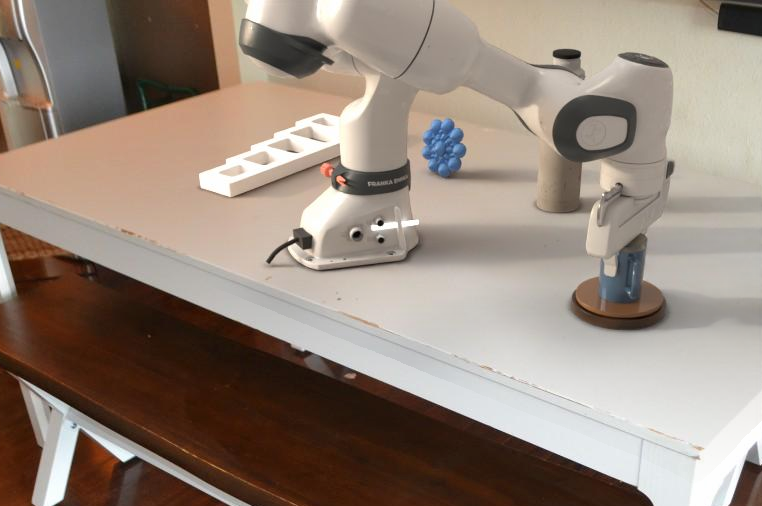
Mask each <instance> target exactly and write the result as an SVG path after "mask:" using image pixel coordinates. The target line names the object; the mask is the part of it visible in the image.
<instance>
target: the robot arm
mask: <svg viewBox="0 0 762 506" xmlns="http://www.w3.org/2000/svg"><path fill="white" fill-rule="evenodd" d="M243 2H244V3H245V4H246V6H247V7H246V12H245V17H243V18H241V21H240V27H239V33H238V45H239V48H240V50H241V51H242V53H243V54H244V55H246V56H247V57H248V59H249V60H250V61H251V62H252V63H253V65H255V66H256V67H257V68H258V69H260V70H261V71H262V72H264V73H265V74H269V75H270V76H273V77H277V78H282V79H297V80H302V79H304V78H307V77H309V76H310V77H311V76H312V75H315V74H316V73H317V72H318V71H319V70H322V71H325V72H328V73H332V74H340V75H347V76H354V77H361V78H362V77H363V78H364V79H365V91H364V95H363V96H361V97H359V98H357V99H355V100H353V101H352V102H350V103H348V104H347V105H346V106H345V107H344V109H343V110H342V112H341V113H340V116H339V117H340V119H339V136H340V153H341V155H340V160H339V162H338V164H337V165H336V166H335V167H334V166H333V165H331V164H330V163H329V162H323V164H322V165H321V166H320V173H321V174H322V175H324V176H325V177H326V178H327V179H328V178H329V179H330V182H331V185H330V186H329V187H328V188H327V189H326V190H325V191H324V192H323V193H321V194H320V195H319V196H318V197H317V198H315V200H314V201H312V202H311V203H310V204H309V205H308V206H307V207H305V208H304V209H303V211H302V214H301V218H300V224H299V227H298V228H293V229H292V235H291V236H289V238H288V240H287V241H286V242H284V243H282V244H280V245H279V246H278V247H277V248H275V249H274V250H273V251H272V252H271V253H270V254H269V256H268V257H267V259H266V260H265V262H266V263H267V264H268V265H270V264H271V263H272V262H273V260H274V259H275V258H276V257H277V255H278V254H279V253H281V252H282V251H284V250H285V249H286V248H287V250H288V252H289V254H290V255H291V256H292V258H293V259H294V260H296V261H297V262H298V263H300V264H301V265H302V266H304V267H307V268H309V269H313V270H317V271H324V270H332V269H333V270H334V269H341V268H348V267H349V268H350V267H358V266H364V265H372V264H373V265H375V264H382V263H388V262H389V263H391V262H399V261H402V260H404V259H406V257H407V255H408V253H409V251H411V250H412V249H414V248H415V247H417V245H418V243H419V241H420V238H419V235H418V232H417V229H416V225H417V226H418V225H419V220H418V219H415V220H414V217H413V210H412V206H411V196H410V191H411V187H412V171H411V161H410V159H409V158H408V135H409V134H408V132H409V131H408V130H409V117H410V112H411V108H412V105H413V102H414V101H415V98H416V96H417V94H418V92H420V91H422V92H425V93H429V94H432V95H437V96H443V95H446V94H449V93H452V92H454V91H455V90H457V89H458V88H459V87H464V88H467V89H470V90H472V91H475V92H477V93H479V94H481V95H483V96H485V97H488V98H489V99H492V100H493V101H495V102H498V103H500V104H502V105H504V106H506V107H508V108H509V109H510V110H512V112H513V113H514V115H515V116H516V118H517V119H518V120H519V122H520V123H521V125H522V126H523V127H524V128H525V129H526V130H527V131H528V132H530V133H531V134H533V135H534V136H536V137H537V138H539V140H540V139H542V140H543V141H544V142H545V143H546V144H547V145H549V146H550V147H551V148H552V149H553V150H554V151H556V152H557V153H558V154H559V155H561V156H562V157H564V158H566V159H568V160H570V161H573V162H579V163H582V164H583V163H589V162H594V161H598V160H601V161H600V162H601V164H600V174H599V186H600V188H602V189H603V190H604V192H603V193H602V194H601V197H600V199H599V198H598V200H597V201H596V202H595V203H594V204H593V206H592V208H591V211H590V215H589V220H588V226H587V233H586V234H587V235H586V240H585V241H586V242H585V251H586V252H587V255H588V256H591V257H594V258H597V259H601V258H602V259H603V261H604V264H605V266H604V274H605V275H607V276H611V277H614V276H615V275H616V274H617V273H619V268H620V263H619V262H618V259H617V256H618V255H619V251H620V250H621V249H622V248H623V247H625V246H626V245H627V244H628V243H630V242H631V241H632V240H633V239H634V238H636V237H637V236H638V235H639V234H641V233H642V234H644V235H645V236H646V237H647V233H648V228H649V227H650V226H652V225H653V224H654V223H656V221H658V220H659V219H660V218H662V216H663V214H664V213H665V209H666V206H667V203H668V202H667V201H668V197H669V191H670V184H671V176H673V174H674V173H675V170H676V160H675V159H674V158H669V157H667V156H668V148H667V144H666V143H667V142H666V141H667V140H666V139H667V135H668V131H669V129H670V127H671V123H672V115H673V105H674V75H673V71H672V68H671V67H670V66H669V65H668V64H667V63H666V62H665V61H663V60H662V59H660V58H657V57H656V56H652V55H649V54H646V53H640V52H633V51H628V52H627V51H626V52H622V53H618V54H617V55H616V56H615V57H614V59H613V60H612V62H610V63H609V64H608V65H607V66H605V67H604V68H602V69H601V70H600V71H598V72H597V73H595V74H593V75H591V76H590V77H587V78H585V80H582V79H581V78H580V77H579V76H578V75H577V74H576V73H575V72H573V71H572V70H570V69H569V68H567V67H564V66H560V65H553V64H535V63H529V62H526V61H525V60H522V59H521V58H518V57H516V56H515V55H513V54H511V53H509V52H507V51H505V50H503V49H501V48H499V47H497V46H496V45H493V44H491V43H490V42H488V41H486V40H485V39H484V38H483V37H482V36H481V35H480V32H479V29H478V26H477V25H476V23H475V22H474V21H473V20H472V19H470V17H468V15H466V14H465V13H463V11H461V10H460V9H459V8H457V7H456V6H455V5H453V4H452V3H450V2H449V1H447V0H243Z"/></svg>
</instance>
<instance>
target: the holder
mask: <svg viewBox="0 0 762 506" xmlns="http://www.w3.org/2000/svg"><path fill="white" fill-rule="evenodd" d="M339 119H340V116H337V115H332V114H329V113H324V112H321V113H318V114H315V115H313V116H309V117H306V118H304V119H301V120H300V119H299V120H297V121H295V126H292V127H289V128H286V129H284V130H280V131H277V132H274V133H273V138H270V139H268V140H264V141H262V142H259V143H255V144H253V145H250V150H248V151H246V152H243V153H240V154H237V155H235V156H231V157H228V158H226V159H225V164H222V165H219V166H217V167H214V168H212V169H208V170H205V171H203V172H200V173H199V174H198V176H199V184H200V188H201V189H203V190H207V191H210V192H214V193H217V194H219V195H222V196H226V197H229V198H233V197H236V196H238V195H241V194H243V193H246V192H249V191H251V190H254V189H257V188H259V187H262V186H265V185H267V184H269V183H273V182H275V181H279V180H280V179H283V178H286V177H289V176H290V175H294V174H296V173H299V172H301V171H304V170H306V169H308V168H309V169H310V168H312V167H314V166H317V165H319V164H322V163H325V162H327V161H330V160H332V159H335V158H338V157H341V153H340V136H339Z"/></svg>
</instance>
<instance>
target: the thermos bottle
mask: <svg viewBox="0 0 762 506" xmlns="http://www.w3.org/2000/svg"><path fill="white" fill-rule="evenodd" d="M552 57H553V59H552V65H560V66H564V67H567V68H569V69H570V70H572V71H573V72H575V73H576V74H577V75H578V76H579V77H580V78H581V79H582V80H585V79H586V77H587V76H586V70H584V69H583V68H582V67H581V65H582V64H581V63H582V60H581V57H582V52H581V51H580V50H578V49H574V48H558V49H554V50H553V51H552ZM538 152H539V153H538V157H539V158H538V170H537V187H536V189H537V190H536V207H538V208H539V209H540V210H542V211H545V212H549V213H555V214H556V213H557V214H558V213H561V214H563V213H569V212H573V211H575V210H577V209H578V208H579V207H580V198H581V187H582V172H583V171H582V170H583V163H579V162H573V161H570V160H568V159H566V158H564V157H562V156H561V155H559V154H558V153H557V152H556V151H554V150H553V149H552V148H551V147H550V146H549V145H547V144H546V143H545V142H544V141H543V140H542V139H540V138H539V150H538Z"/></svg>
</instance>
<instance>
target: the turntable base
mask: <svg viewBox="0 0 762 506" xmlns="http://www.w3.org/2000/svg"><path fill="white" fill-rule="evenodd" d="M570 304H571V310H572V312H573V313H574V315H575V316H576V317H577V318H579V319H581V320H582V321H584V322H586V323H588V324H590V325H593V326H595V327H599V328H604V329H608V330H609V329H610V330H617V331H632V330H640V329H645V328H648V327H652V326H654V325H656V324H657V323H659V322H661V320H662V319H663V318H664V317H665V315H666V309H667V300H666V298H665V296H664V295H663V304H662V306H661V307H660V308H659V309H658V310H657V311H655V312H653V313H651V314H649V315H645V316H641V317H633V318H618V317H610V316H604V315H600V314H597V313H594V312H592V311H589V310H587V309H586V308H584V307H583V306H581V305H580V304H579V303H578V301H577V300H576V289H575V290H574V291H572V295H571V303H570Z"/></svg>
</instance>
